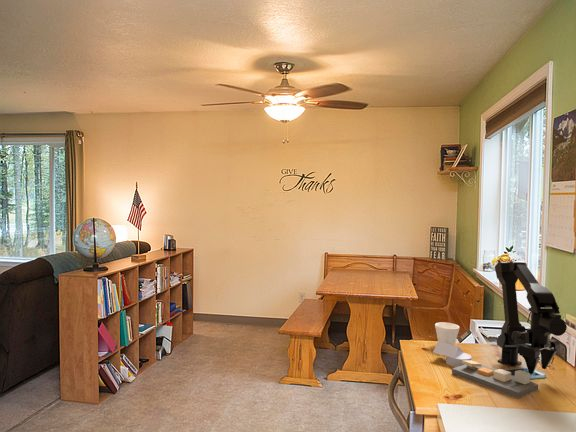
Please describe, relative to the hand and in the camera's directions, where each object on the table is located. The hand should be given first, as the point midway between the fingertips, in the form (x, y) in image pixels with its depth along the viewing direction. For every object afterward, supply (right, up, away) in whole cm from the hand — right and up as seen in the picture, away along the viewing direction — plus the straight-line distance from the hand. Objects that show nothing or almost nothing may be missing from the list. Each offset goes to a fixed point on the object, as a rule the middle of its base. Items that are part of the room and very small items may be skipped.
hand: (537, 371), depth 160 cm
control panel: (-16, -3, 0) cm, 16 cm away
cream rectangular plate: (-20, +1, +6) cm, 21 cm away
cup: (-19, -2, +36) cm, 41 cm away
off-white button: (-14, -2, -3) cm, 14 cm away
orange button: (-17, -3, +2) cm, 18 cm away
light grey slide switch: (-8, -1, -6) cm, 10 cm away
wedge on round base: (-23, -3, +18) cm, 29 cm away
